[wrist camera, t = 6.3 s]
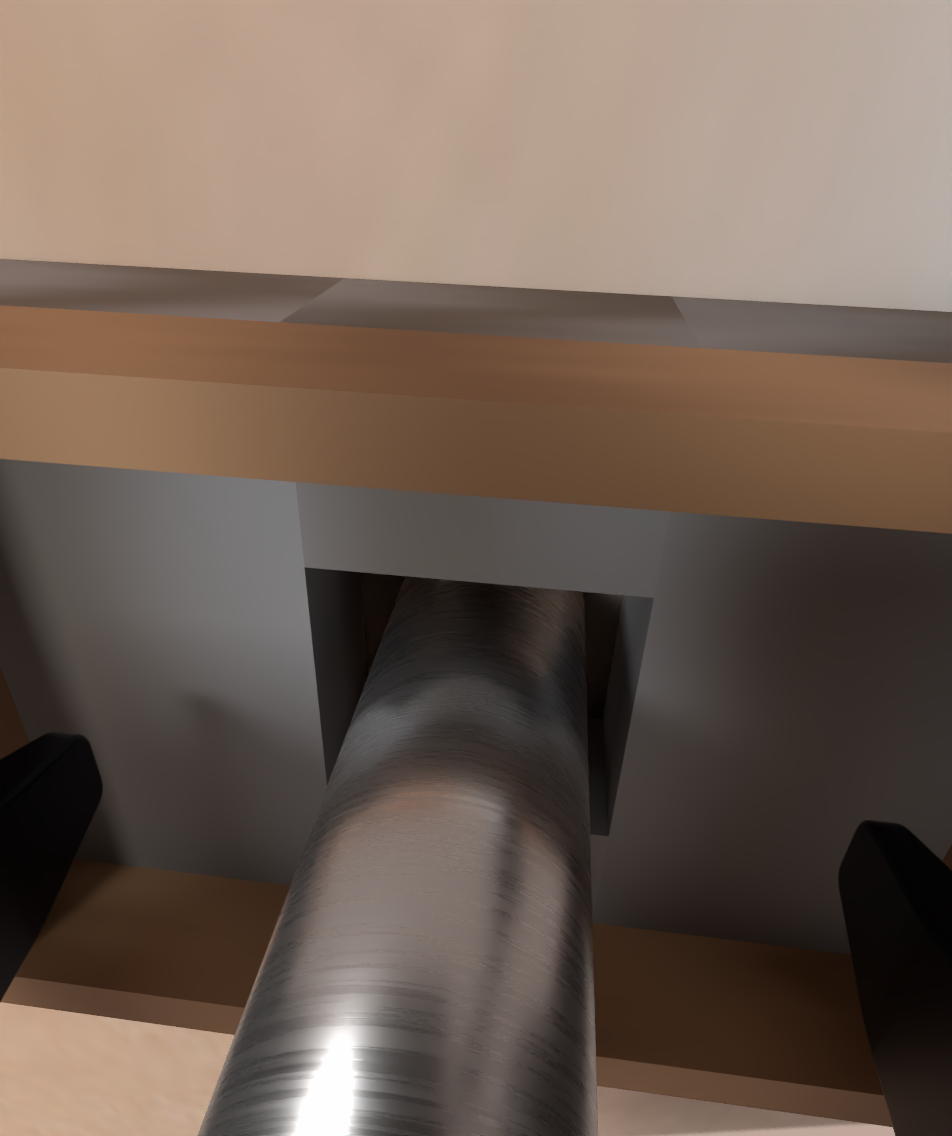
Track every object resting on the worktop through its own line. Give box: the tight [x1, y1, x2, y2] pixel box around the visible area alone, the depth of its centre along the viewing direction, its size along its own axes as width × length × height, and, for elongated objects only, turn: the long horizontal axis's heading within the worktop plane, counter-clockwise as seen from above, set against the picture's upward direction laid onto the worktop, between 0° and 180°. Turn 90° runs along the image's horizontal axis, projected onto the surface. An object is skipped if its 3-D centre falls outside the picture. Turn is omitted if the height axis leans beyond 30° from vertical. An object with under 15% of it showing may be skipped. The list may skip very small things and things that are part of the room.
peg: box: [198, 576, 598, 1136], centre depth 9 cm, size 3×3×8 cm
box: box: [0, 259, 952, 1127], centre depth 10 cm, size 15×10×4 cm, turn 88°
